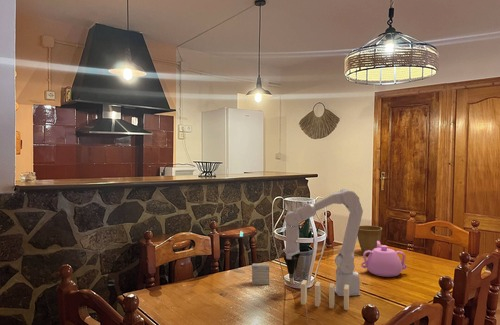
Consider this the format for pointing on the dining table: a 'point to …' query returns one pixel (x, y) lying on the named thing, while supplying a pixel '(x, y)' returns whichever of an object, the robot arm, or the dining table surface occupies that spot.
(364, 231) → the plant pot
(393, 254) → the teapot
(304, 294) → the domino
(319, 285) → the domino
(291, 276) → the domino
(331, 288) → the domino
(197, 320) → the dining table surface
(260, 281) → the medicine box
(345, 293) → the domino
